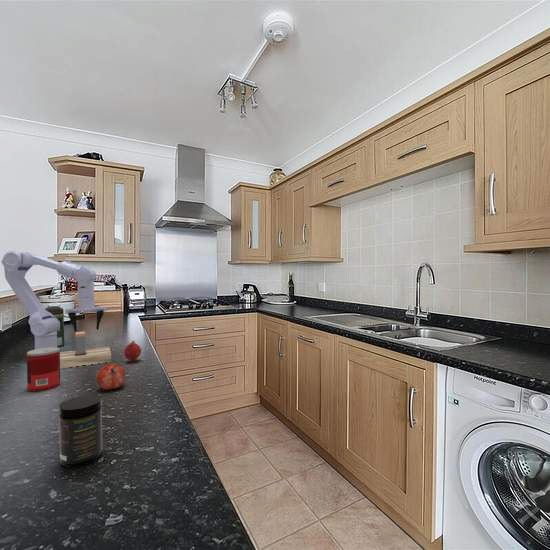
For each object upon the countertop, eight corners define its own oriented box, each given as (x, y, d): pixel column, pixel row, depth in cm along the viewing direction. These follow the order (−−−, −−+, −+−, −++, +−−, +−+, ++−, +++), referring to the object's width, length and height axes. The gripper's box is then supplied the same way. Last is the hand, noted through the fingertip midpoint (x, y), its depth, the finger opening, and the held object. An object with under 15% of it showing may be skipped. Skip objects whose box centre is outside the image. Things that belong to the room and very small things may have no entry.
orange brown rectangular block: (75, 351, 120) (75, 332, 120) (85, 350, 122) (85, 331, 122) (75, 354, 116) (75, 334, 116) (85, 353, 117) (85, 333, 117)
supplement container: (110, 452, 59) (110, 397, 59) (74, 473, 53) (73, 412, 53) (88, 444, 62) (87, 392, 62) (51, 463, 56) (50, 405, 55)
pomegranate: (94, 395, 91) (93, 383, 84) (99, 371, 96) (98, 358, 89) (122, 394, 94) (123, 382, 87) (125, 371, 99) (126, 358, 92)
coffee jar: (43, 345, 146) (42, 306, 146) (63, 342, 151) (62, 304, 151) (44, 349, 138) (43, 307, 138) (65, 346, 143) (64, 306, 143)
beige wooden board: (50, 361, 120) (50, 353, 120) (109, 353, 130) (108, 346, 130) (46, 371, 108) (46, 362, 108) (111, 361, 118) (111, 354, 118)
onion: (134, 364, 115) (134, 342, 115) (120, 363, 116) (120, 342, 116) (144, 359, 121) (143, 339, 121) (131, 359, 122) (130, 338, 122)
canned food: (66, 383, 95) (65, 348, 95) (39, 393, 88) (38, 354, 88) (48, 380, 98) (48, 346, 98) (20, 390, 90) (20, 352, 90)
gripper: (64, 299, 120) (64, 333, 120) (106, 296, 128) (107, 329, 128) (65, 297, 126) (65, 331, 126) (105, 295, 134) (106, 327, 134)
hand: (86, 330), depth 127 cm, fingers open, 7 cm apart
